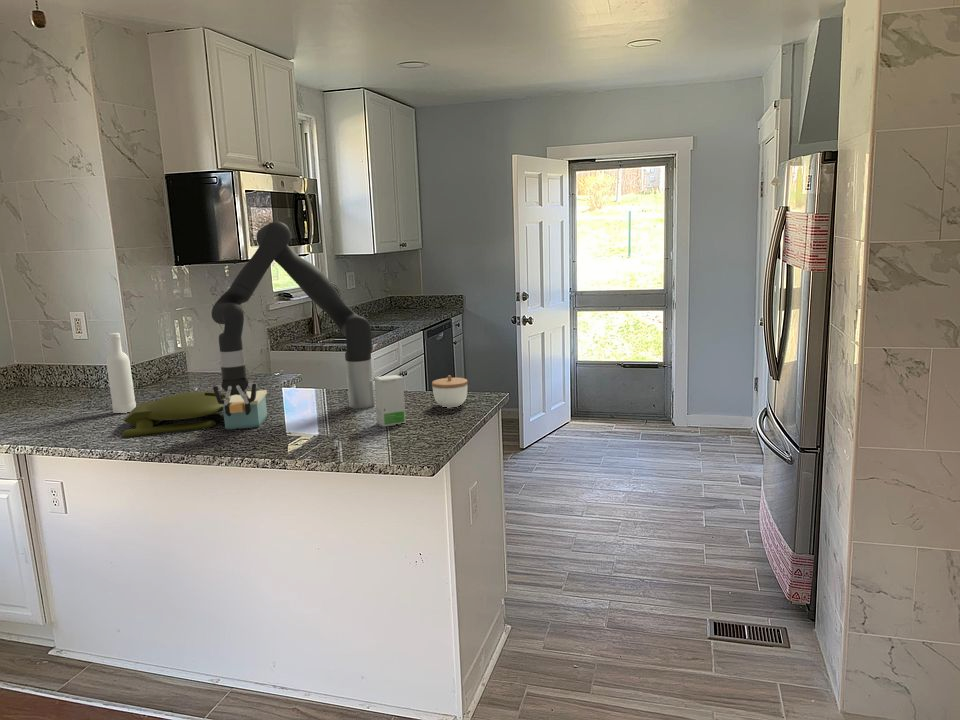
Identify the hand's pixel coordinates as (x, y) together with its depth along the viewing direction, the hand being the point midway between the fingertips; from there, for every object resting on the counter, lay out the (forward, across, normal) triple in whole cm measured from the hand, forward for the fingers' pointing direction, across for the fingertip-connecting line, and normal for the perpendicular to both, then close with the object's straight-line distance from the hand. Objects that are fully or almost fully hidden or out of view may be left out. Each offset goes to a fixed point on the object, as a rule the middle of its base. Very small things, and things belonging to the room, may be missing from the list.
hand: (238, 414), depth 234 cm
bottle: (+6, +52, -42) cm, 67 cm away
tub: (+5, 0, -11) cm, 12 cm away
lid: (-1, 0, -8) cm, 8 cm away
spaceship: (+6, +24, -20) cm, 31 cm away
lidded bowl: (+6, -70, -13) cm, 72 cm away
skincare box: (+6, -50, +5) cm, 50 cm away
